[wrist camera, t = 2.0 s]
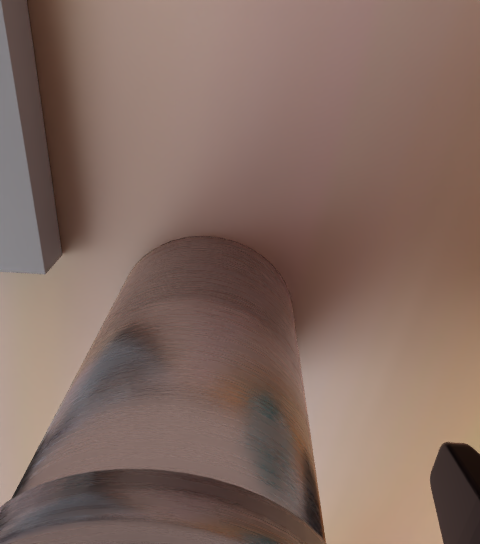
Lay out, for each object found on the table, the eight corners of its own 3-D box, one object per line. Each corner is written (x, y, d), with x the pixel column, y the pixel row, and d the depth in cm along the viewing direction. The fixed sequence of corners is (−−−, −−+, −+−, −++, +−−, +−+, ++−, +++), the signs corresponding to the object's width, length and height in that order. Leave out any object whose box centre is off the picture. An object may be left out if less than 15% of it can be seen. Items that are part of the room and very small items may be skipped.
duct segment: (309, 236, 11) (404, 579, 4) (288, 391, 13) (326, 780, 6) (107, 224, 11) (-144, 546, 4) (121, 381, 13) (-25, 760, 6)
